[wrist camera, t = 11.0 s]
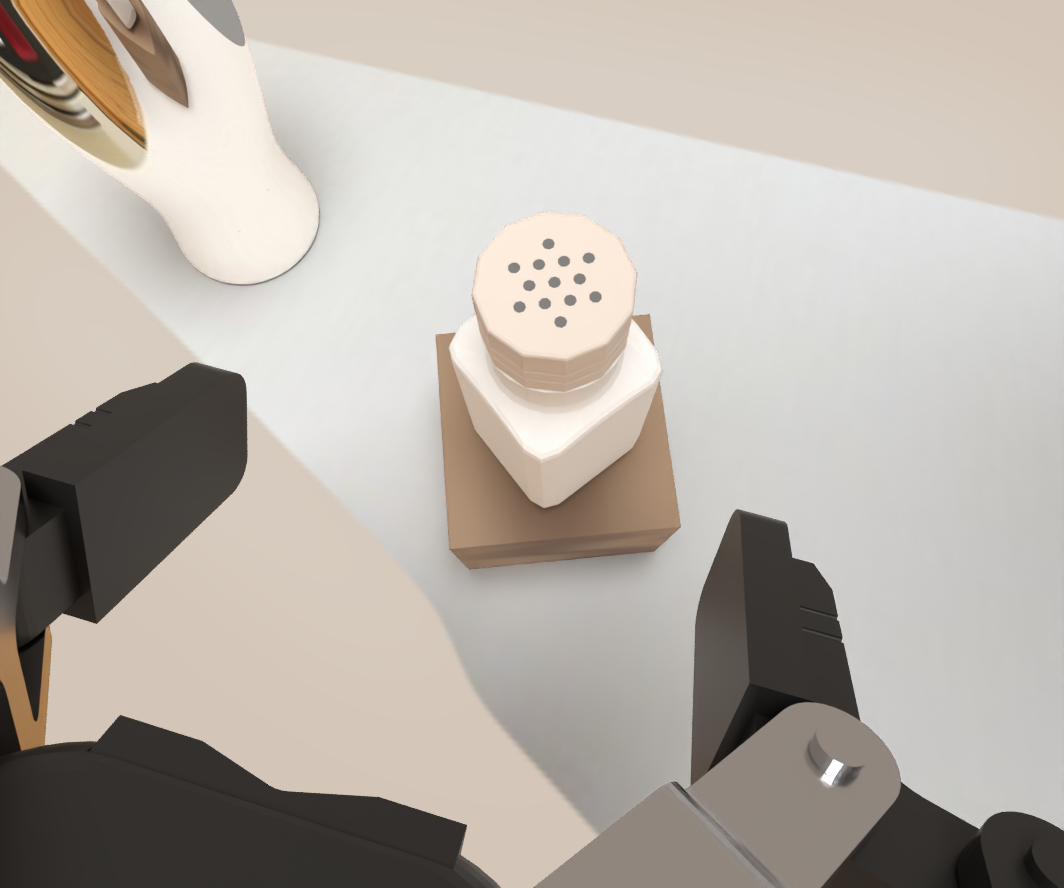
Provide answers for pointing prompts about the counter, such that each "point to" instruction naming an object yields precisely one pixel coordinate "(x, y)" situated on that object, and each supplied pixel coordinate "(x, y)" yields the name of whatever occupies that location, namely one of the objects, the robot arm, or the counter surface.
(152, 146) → the beer glass
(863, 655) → the counter surface
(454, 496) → the walnut block
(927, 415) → the counter surface
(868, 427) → the counter surface
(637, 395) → the pepper shaker
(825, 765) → the robot arm
